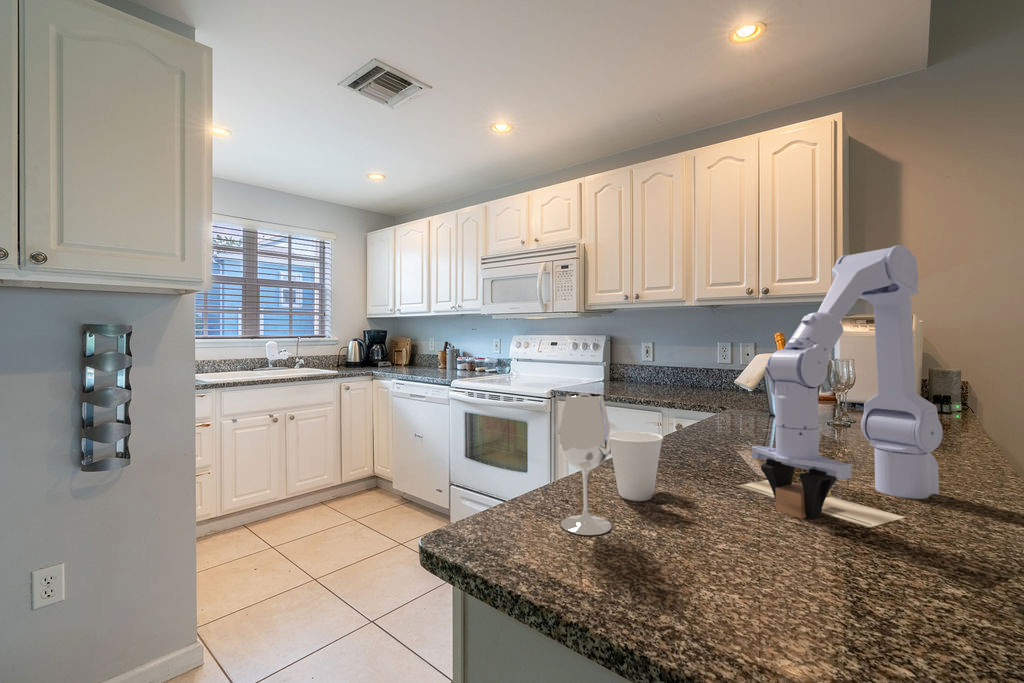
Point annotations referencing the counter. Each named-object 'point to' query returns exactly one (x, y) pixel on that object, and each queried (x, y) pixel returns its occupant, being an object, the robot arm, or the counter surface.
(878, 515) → the board
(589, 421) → the wineglass
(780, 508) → the block
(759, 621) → the counter surface
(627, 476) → the cup
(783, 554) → the counter surface
